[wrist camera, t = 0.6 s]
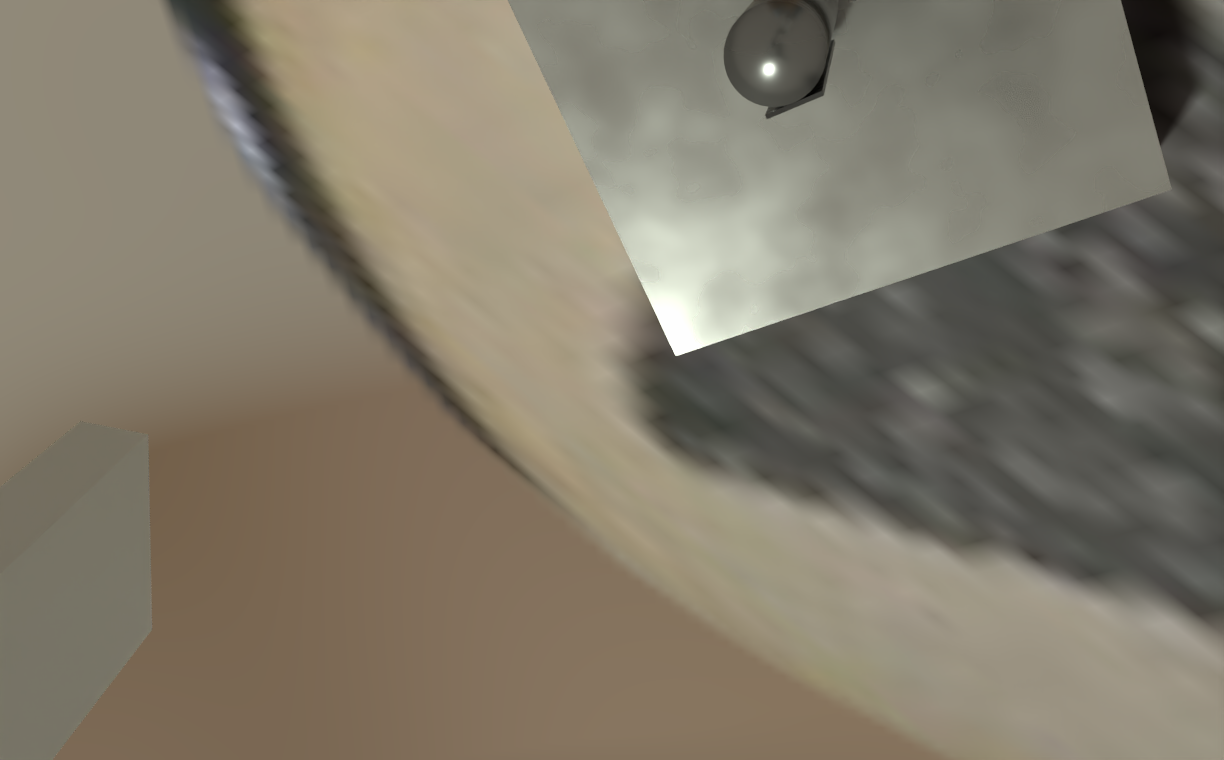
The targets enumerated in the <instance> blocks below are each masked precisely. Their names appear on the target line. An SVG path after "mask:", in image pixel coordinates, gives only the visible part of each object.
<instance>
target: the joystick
mask: <svg viewBox="0 0 1224 760" xmlns="http://www.w3.org/2000/svg"><path fill="white" fill-rule="evenodd" d="M508 2H509V4H510V6H511V8H512V10H513V12H514V14H515V17H516V19H517V21H518V23H519V25H520V27H521V29H522V31H523V34H524V36H525V38H526V40H527V42H528V44H529V46H530V48H531V50H532V53H533V55H534V57H535V59H536V61H537V63H538V65H539V67H540V70H541V72H542V74H543V76H544V78H545V80H546V82H547V84H548V86H549V89H550V91H551V93H552V95H553V97H554V99H555V101H556V103H557V106H558V108H559V110H560V112H561V114H562V116H563V118H564V120H565V122H566V125H567V127H568V129H569V131H570V133H571V135H572V137H573V139H574V142H575V144H576V146H577V148H578V150H579V152H580V154H581V156H582V158H583V161H584V163H585V165H586V167H587V169H588V171H589V173H590V175H591V178H592V180H593V182H594V184H595V186H596V188H597V190H598V192H599V194H600V197H601V199H602V201H603V203H604V205H605V207H606V209H607V211H608V214H609V216H610V218H611V220H612V222H613V224H614V226H615V228H616V230H617V233H618V235H619V237H620V239H621V241H622V243H623V245H624V247H625V250H626V252H627V254H628V256H629V258H630V260H631V262H632V264H633V266H634V269H635V271H636V273H637V275H638V277H639V279H640V281H641V283H642V286H643V288H644V290H645V292H646V294H647V296H648V298H649V300H650V302H651V305H652V307H653V309H654V311H655V313H656V315H657V317H658V319H659V322H660V324H661V326H662V328H663V330H664V332H665V334H666V336H667V338H668V341H669V343H670V345H671V347H672V349H673V351H674V353H675V355H676V356H677V355H680V354H683V353H686V352H689V351H692V350H695V349H698V348H701V347H704V346H707V345H710V344H713V343H716V342H719V341H722V340H725V339H728V338H731V337H734V336H737V335H740V334H743V333H746V332H749V331H752V330H755V329H758V328H761V327H764V326H767V325H770V324H773V323H776V322H779V321H782V320H785V319H788V318H791V317H794V316H797V315H800V314H803V313H806V312H809V311H812V310H815V309H818V308H820V307H823V306H826V305H829V304H832V303H835V302H838V301H841V300H844V299H847V298H850V297H853V296H856V295H859V294H862V293H865V292H868V291H871V290H874V289H877V288H880V287H883V286H886V285H889V284H892V283H895V282H898V281H901V280H904V279H907V278H910V277H913V276H916V275H919V274H922V273H925V272H928V271H931V270H934V269H937V268H940V267H943V266H946V265H949V264H952V263H955V262H958V261H961V260H963V259H966V258H969V257H972V256H975V255H978V254H981V253H984V252H987V251H990V250H993V249H996V248H999V247H1002V246H1005V245H1008V244H1011V243H1014V242H1017V241H1020V240H1023V239H1026V238H1029V237H1032V236H1035V235H1038V234H1041V233H1044V232H1047V231H1050V230H1053V229H1056V228H1059V227H1062V226H1065V225H1068V224H1071V223H1074V222H1077V221H1080V220H1083V219H1086V218H1089V217H1092V216H1095V215H1098V214H1101V213H1103V212H1106V211H1109V210H1112V209H1115V208H1118V207H1121V206H1124V205H1127V204H1130V203H1133V202H1136V201H1139V200H1142V199H1145V198H1148V197H1151V196H1154V195H1157V194H1160V193H1163V192H1166V191H1169V190H1172V189H1171V185H1170V181H1169V177H1168V174H1167V170H1166V166H1165V163H1164V159H1163V155H1162V151H1161V148H1160V144H1159V140H1158V137H1157V133H1156V129H1155V125H1154V122H1153V118H1152V114H1151V111H1150V107H1149V103H1148V99H1147V96H1146V92H1145V88H1144V85H1143V81H1142V77H1141V73H1140V70H1139V66H1138V62H1137V59H1136V55H1135V51H1134V47H1133V44H1132V40H1131V36H1130V33H1129V29H1128V25H1127V21H1126V18H1125V14H1124V10H1123V7H1122V3H1121V0H508Z"/></svg>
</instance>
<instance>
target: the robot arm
mask: <svg viewBox="0 0 1224 760" xmlns="http://www.w3.org/2000/svg"><path fill="white" fill-rule="evenodd" d="M148 456H149V453H148V434H143V433H138V432H133V431H128V430H123V429H118V428H112V427H107V426H102V425H97V424H92V423H86V422H81V421H80V422H79V423H78V424H77V425H75V426H74V427H73V428H72V429H70V430H69V431H68V432H67V433H65V434H64V435H63V436H62V437H61V438H59V439H58V440H57V441H56V442H54V443H53V444H52V445H51V446H50V447H48V448H47V449H46V450H45V451H44V452H42V453H41V454H40V455H39V456H37V457H36V458H35V459H34V460H32V461H31V462H30V463H29V464H28V465H26V466H25V467H24V468H23V469H21V470H20V471H19V472H18V473H16V474H15V475H14V476H13V477H12V478H10V479H9V480H8V481H7V482H5V483H4V484H3V485H2V486H1V487H0V760H53V758H54V757H55V756H56V754H57V753H58V752H59V750H60V749H61V748H62V747H63V745H64V744H65V743H66V741H67V740H68V738H69V737H70V736H71V735H72V733H73V732H74V731H75V729H76V728H77V727H78V726H79V724H80V723H81V722H82V720H83V719H84V718H85V716H86V715H87V714H88V712H89V711H90V710H91V709H92V707H93V706H94V705H95V703H96V702H97V701H98V699H99V698H100V697H101V696H102V694H103V693H104V692H105V690H106V689H107V687H108V686H109V685H110V684H111V682H112V681H113V680H114V679H115V677H116V676H117V675H118V673H119V672H120V671H121V669H122V668H123V667H124V665H125V664H126V663H127V662H128V660H129V659H130V658H131V656H132V655H133V654H134V652H135V651H136V649H137V648H138V647H139V646H140V644H141V643H142V642H143V641H144V639H145V638H146V636H147V635H148V634H149V633H150V631H151V630H152V610H151V609H152V607H151V558H150V508H149V507H150V505H149V460H148V459H149V457H148Z"/></svg>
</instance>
